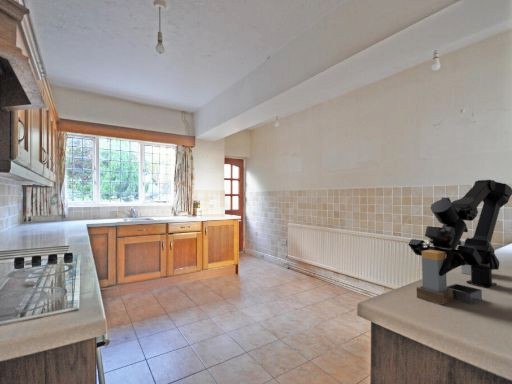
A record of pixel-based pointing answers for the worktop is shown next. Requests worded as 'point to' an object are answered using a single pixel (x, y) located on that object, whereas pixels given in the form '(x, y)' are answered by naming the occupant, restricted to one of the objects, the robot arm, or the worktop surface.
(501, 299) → the worktop surface
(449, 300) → the square frame
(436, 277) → the plug
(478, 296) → the socket
